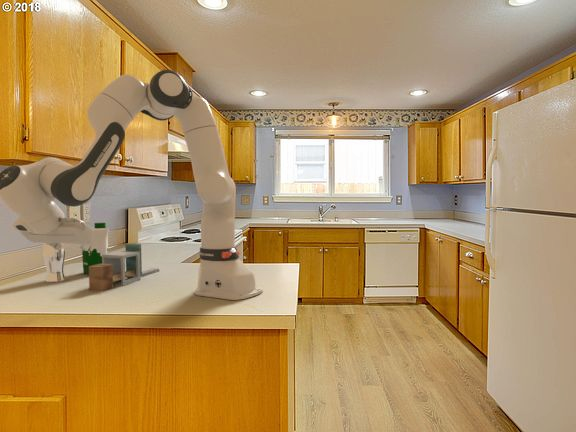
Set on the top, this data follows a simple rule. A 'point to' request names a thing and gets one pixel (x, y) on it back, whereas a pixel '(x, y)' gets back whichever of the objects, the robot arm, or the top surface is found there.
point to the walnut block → (100, 277)
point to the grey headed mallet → (119, 265)
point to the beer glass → (54, 263)
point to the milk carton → (96, 247)
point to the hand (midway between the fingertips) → (73, 248)
